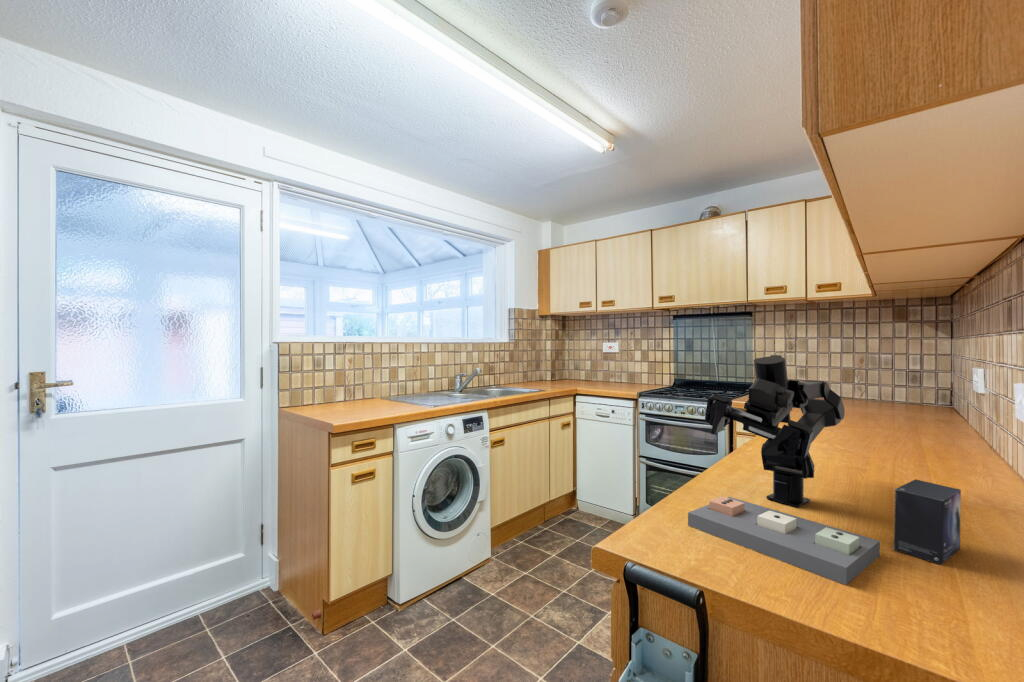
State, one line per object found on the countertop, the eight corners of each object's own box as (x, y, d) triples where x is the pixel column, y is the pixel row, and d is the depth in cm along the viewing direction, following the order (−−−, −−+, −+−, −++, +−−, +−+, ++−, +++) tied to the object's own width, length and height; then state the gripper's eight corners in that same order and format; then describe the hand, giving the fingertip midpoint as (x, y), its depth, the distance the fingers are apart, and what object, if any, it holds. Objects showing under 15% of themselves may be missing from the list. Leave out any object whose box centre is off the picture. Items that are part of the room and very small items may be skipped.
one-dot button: (769, 523, 81) (769, 509, 81) (796, 532, 77) (796, 517, 77) (757, 529, 78) (757, 515, 78) (784, 539, 74) (784, 523, 74)
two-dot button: (826, 542, 73) (826, 526, 73) (859, 552, 70) (859, 536, 70) (815, 549, 71) (815, 533, 71) (848, 560, 67) (848, 543, 67)
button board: (729, 508, 92) (729, 496, 92) (879, 556, 72) (879, 540, 72) (688, 525, 83) (688, 512, 83) (846, 585, 63) (846, 567, 63)
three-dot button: (721, 508, 88) (721, 495, 88) (744, 515, 84) (744, 502, 84) (709, 513, 85) (709, 500, 85) (732, 521, 82) (732, 507, 82)
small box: (945, 567, 68) (945, 500, 68) (892, 550, 74) (892, 488, 74) (963, 550, 74) (963, 488, 74) (912, 535, 79) (912, 478, 80)
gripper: (729, 362, 94) (693, 387, 85) (831, 391, 81) (802, 424, 71) (722, 407, 98) (687, 435, 89) (818, 441, 85) (789, 479, 76)
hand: (736, 442), depth 81 cm, fingers open, 9 cm apart
